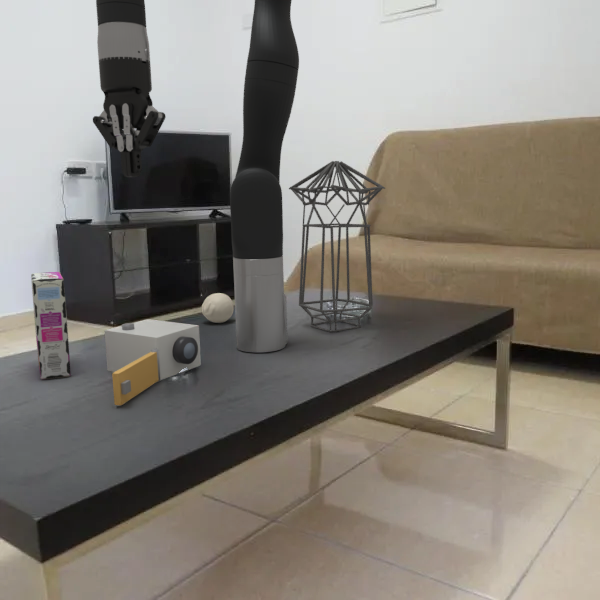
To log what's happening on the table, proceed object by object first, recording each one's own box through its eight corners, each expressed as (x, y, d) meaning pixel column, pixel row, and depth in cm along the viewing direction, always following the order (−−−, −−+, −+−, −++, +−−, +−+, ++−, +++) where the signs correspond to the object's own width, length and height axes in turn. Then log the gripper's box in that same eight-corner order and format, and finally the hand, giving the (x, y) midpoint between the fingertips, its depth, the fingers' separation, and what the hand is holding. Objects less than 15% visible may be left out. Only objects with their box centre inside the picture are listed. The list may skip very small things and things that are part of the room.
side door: (154, 379, 103) (152, 349, 102) (164, 380, 103) (162, 349, 102) (114, 406, 91) (111, 372, 90) (125, 407, 90) (122, 372, 89)
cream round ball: (195, 323, 146) (194, 294, 145) (221, 318, 151) (220, 290, 150) (213, 327, 141) (212, 297, 140) (240, 322, 146) (238, 292, 145)
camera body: (150, 356, 118) (147, 314, 116) (208, 366, 110) (206, 321, 109) (107, 370, 109) (103, 325, 108) (167, 382, 102) (164, 333, 101)
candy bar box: (73, 376, 106) (64, 278, 103) (40, 381, 104) (30, 280, 102) (68, 360, 116) (60, 270, 114) (38, 364, 115) (29, 272, 112)
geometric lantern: (286, 325, 142) (284, 162, 137) (346, 318, 150) (346, 163, 144) (326, 337, 128) (325, 157, 123) (388, 329, 136) (390, 159, 131)
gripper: (73, 60, 97) (82, 178, 100) (141, 50, 91) (149, 175, 94) (109, 67, 104) (117, 177, 107) (175, 58, 98) (181, 175, 101)
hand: (132, 176), depth 100 cm, fingers closed
